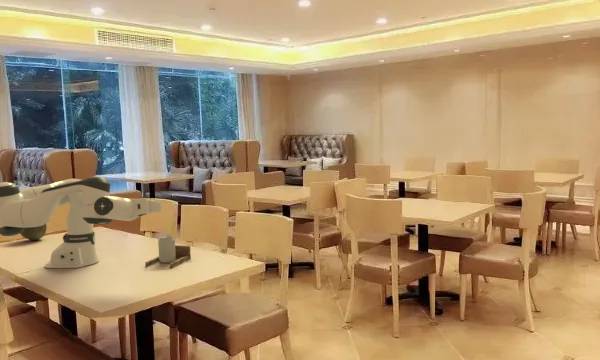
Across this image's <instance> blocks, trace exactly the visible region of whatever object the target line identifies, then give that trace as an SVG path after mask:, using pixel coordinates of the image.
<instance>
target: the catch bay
mask: <svg viewBox="0 0 600 360" xmlns="http://www.w3.org/2000/svg"><path fill="white" fill-rule="evenodd" d="M175 252H176V260H175V261H174V262H172V263H169V268H171V269H173V268H174V267H176V266H179V265H180V264H182V263H184V262H186V261H188V260H190V259H192V257H191V245H181V244H179V245H177V244H175ZM158 262H160V261H159V255H158V256H156V257H154V258H151V259H150V260H147V261H145V262H144V263H145V264H144V265H145V267H149V266H151V265H154V264H156V263H158Z"/></svg>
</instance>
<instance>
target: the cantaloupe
mask: <svg viewBox="0 0 600 360" xmlns="http://www.w3.org/2000/svg"><path fill="white" fill-rule="evenodd" d="M47 227H48V226H47V223H46V224H45V225H43V226H38V227H26V228H25V229H24V230H23V232H22V233H20V234H19V235H21V236H22V237H24V238H25V239H27V240H30V241H39V240H40V239H42V238H43V237H44V236H45V235H46V232H47V229H48V228H47Z"/></svg>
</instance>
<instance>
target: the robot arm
mask: <svg viewBox="0 0 600 360" xmlns="http://www.w3.org/2000/svg"><path fill="white" fill-rule="evenodd" d="M110 192H111V184H110V182H109V181H108V180H107V178H106V177H104V176H98V175H97V176H91V177H88V178H84V179H81V178H68V179H64V180H60V181H57V182H53V183H47V184H43V185H38V186H32V187H27V188H22V189H20V188H19V187H18V185H17V184H15V183H14V182H8V181H4V182H3V181H2V182H0V235H1V236H2V237H13V236H17V235H21V234H20V233H22V232H23V230H24V229H25V228H26V227H38V226H43V225H45V224H46V225H47V224H48V223H49V221H50V220H52V219H53V216H54V214H55V212H56V210H57V208H59V207H62V206H65V205H68V204H69V209H68V214H67V215H66V228H67V230H66V231H67V232H66V233H64V234H63V236H62V240H63V241H62V243H61V244H59V245H58V246H57V247H56V248H55V249H54V250H53V251H52V253H51V255H50V260H49V261H48V262H45V265H44V267H45V268H46V269H78V268H81V267H82V268H83V267H86V266H90V265H94V264H97V263H99V260H100V259H99V257H98V253H97V250H96V233H95V230H94V225H108V224H109V223H111V222H113V220H116V221H117V220H118V221H126V222H133V221H134V220H136V219H137V218H140V217H142V216H146V215H150V214H154V213H158V212H162V203H161V202H160V201H158V200H157V201H156V200H154V199H153V200H152V199H148V197H140V198H128V197H127V198H126V197H120V196H116V195H115V196H114V195H110Z"/></svg>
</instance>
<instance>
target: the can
mask: <svg viewBox="0 0 600 360" xmlns="http://www.w3.org/2000/svg"><path fill="white" fill-rule="evenodd" d="M157 242H158V246H157V247H158V256H159V261H158V262H160V263H161V264H170V263H172V262H174V261H176V260H177V258H176V252H175V245H176V239H175V238H174V235H170V234H168V235H166V234H165V235H161V236H159V238H158V240H157Z"/></svg>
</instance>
